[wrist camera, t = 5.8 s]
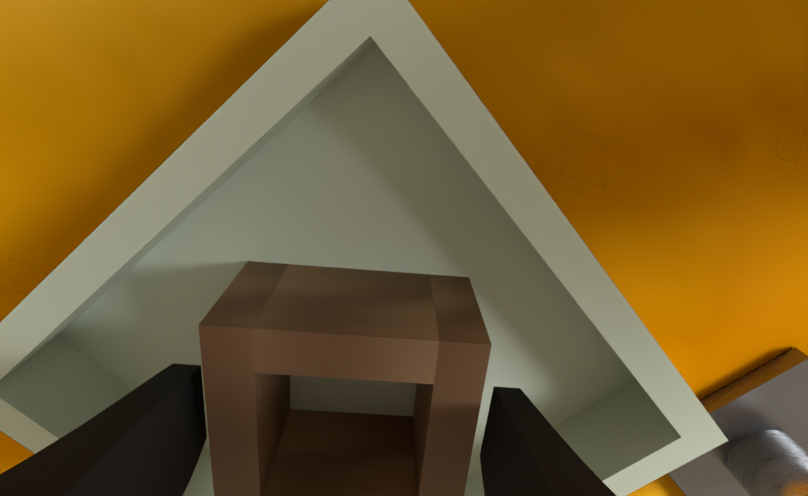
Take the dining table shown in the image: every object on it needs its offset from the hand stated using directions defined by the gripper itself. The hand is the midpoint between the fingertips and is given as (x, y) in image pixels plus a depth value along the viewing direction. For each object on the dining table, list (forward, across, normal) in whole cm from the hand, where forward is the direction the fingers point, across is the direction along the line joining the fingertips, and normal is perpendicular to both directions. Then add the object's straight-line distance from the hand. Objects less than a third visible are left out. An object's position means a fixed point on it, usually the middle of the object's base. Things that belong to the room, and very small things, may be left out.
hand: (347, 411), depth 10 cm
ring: (+2, 0, 0) cm, 2 cm away
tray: (+3, 0, 0) cm, 3 cm away
